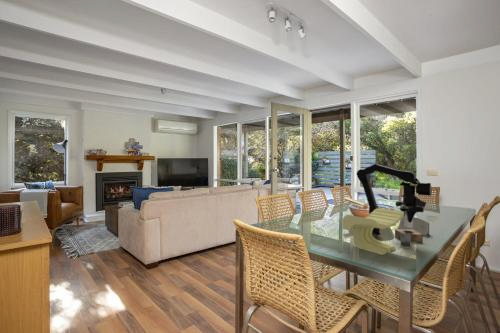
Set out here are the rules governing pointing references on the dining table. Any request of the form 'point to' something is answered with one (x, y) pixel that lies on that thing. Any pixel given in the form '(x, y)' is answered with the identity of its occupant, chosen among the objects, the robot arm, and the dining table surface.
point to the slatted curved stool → (366, 225)
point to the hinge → (417, 226)
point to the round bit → (405, 239)
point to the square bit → (407, 222)
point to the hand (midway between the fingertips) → (408, 221)
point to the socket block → (414, 234)
